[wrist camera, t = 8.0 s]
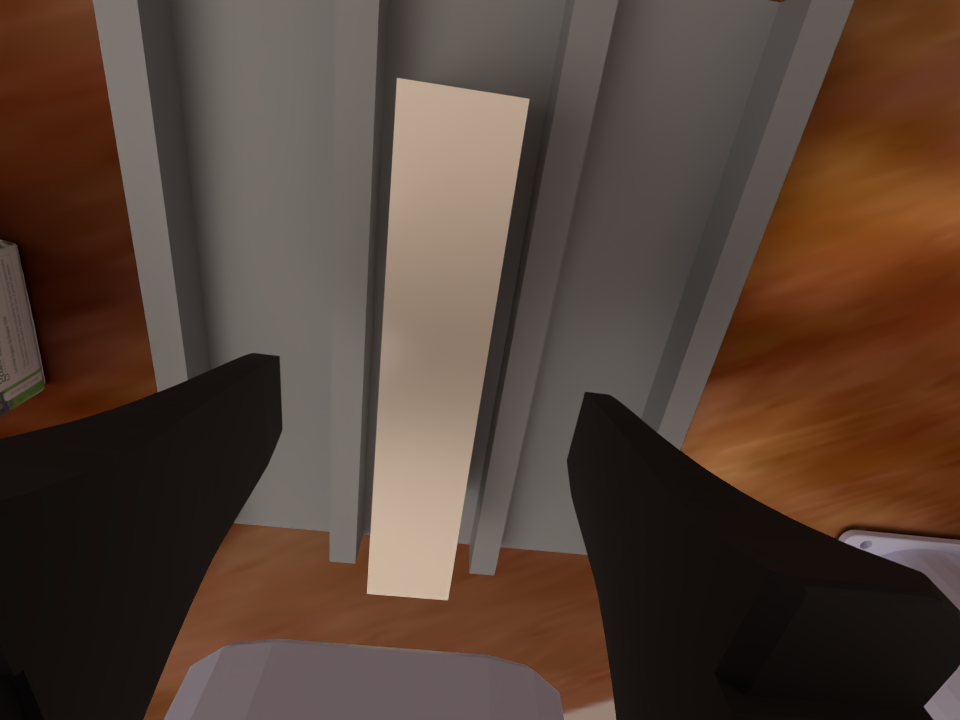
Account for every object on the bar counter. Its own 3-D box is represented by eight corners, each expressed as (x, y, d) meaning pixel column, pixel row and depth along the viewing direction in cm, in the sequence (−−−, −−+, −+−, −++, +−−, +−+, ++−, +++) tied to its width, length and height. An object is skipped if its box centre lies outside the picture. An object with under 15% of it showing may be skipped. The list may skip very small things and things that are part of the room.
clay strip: (420, 86, 14) (396, 77, 9) (510, 100, 14) (529, 99, 10) (390, 485, 20) (367, 593, 16) (453, 491, 20) (448, 600, 16)
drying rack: (798, 17, 14) (864, -1, 12) (616, 537, 23) (633, 587, 21) (133, -102, 13) (56, -148, 11) (209, 499, 22) (177, 548, 19)
